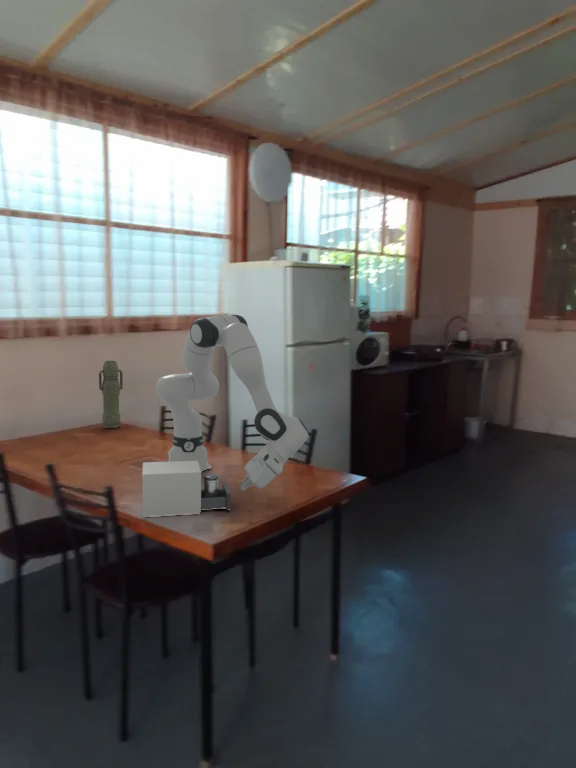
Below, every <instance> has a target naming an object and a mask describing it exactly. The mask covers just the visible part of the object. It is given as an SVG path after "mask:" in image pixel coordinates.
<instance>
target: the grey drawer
mask: <svg viewBox="0 0 576 768" xmlns="http://www.w3.org/2000/svg"><path fill="white" fill-rule="evenodd" d="M221 483H222V484H221V487H222V488H218V497H217V498H204V489H201V510H202V509H212V508H222V507H226V509H230V510H231V491H230V488H229V486H228V484H227V481H225V480H224V481H221Z"/></svg>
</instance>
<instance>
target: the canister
mask: <svg viewBox="0 0 576 768" xmlns="http://www.w3.org/2000/svg"><path fill="white" fill-rule="evenodd" d="M218 489H219V475H218V474H217V473H208V474H207V473H206V474H204V475H203V490H204V498H217V497H218Z"/></svg>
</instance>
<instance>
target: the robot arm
mask: <svg viewBox="0 0 576 768" xmlns="http://www.w3.org/2000/svg"><path fill="white" fill-rule="evenodd" d="M216 347H219V348H220V347H223V348H224V350H225V352H226V356H227V358H228V361H229V364H230V366H231V368H232V370H233V372H234V373H235V375H236V377H237V378H238V379H239V380H240V381H241V382H242V384H243V385H244V386H245V388H246V389H247V390H248V392H249V394H250V396H251V399H252V401H253V404H254V407H255V410H256V412H257V413H256V415H255V417H254V420H253V421H254V422H253V423H254V424H253V425H254V428H255V430H256V432H258V434H259V435H260V436H261V437H262V438H263V439H264V440H266V441H268V442H267V443H266V444H265V445H264V446H263V447H262V448H261V450H259V452H258V453H257V454H256V455H255V456H253V457H252V458H251V459H250V460H249V461H248V462H247V463H246V464H245V465H244V467H243V469H244V471H245V472H246V475H245V477H244V479H243V480H242V482H241V483H240V484H239V488H240V490H241V491H242V492H245V491H246V490H247V489H249V488H250V487H251V486H254V487H255V488H257V489H258V490H262V489H263V488H266V486H267V485H268V484H270V482H271V481H273V479H274V478H276V476H279V475H280V474H281V473H283V468H284V465H285V464H286V463H287V461H288V460H289V458H290V457H291V456H292V455H294V454H295V453H297V452H298V451H299V450H300V448H301V447H302V446H303V445H304V443H305V442H307V439H308V438H309V431H308V429H307V427H306V426H305V424H304V422H303V421H302V420H301V419H300V418H299V417H295V416H290V415H287V414H283V412H280V411H278V410H277V408H276V406H275V405H274V403H273V402H274V401H273V399H272V397H271V395H270V392H269V390H268V386H267V383H266V377H265V369H264V364H263V359H262V355H261V352H260V349H259V347H258V344H257V342H256V339H255V337H254V335H253V334H252V331H251V330H250V329H249V326H248V322H247V320H246V319H245V318H244V317H243V316H242V315H239V314H225V315H224V314H220V315H219V314H218V315H213V316H209V317H200V318H198V319H197V318H196V319H195V320H194V321H193V322H192V323H191V326H190V328H189V331H188V333H187V337H186V339H185V342H184V347H183V349H182V354H181V363H182V366H183V367H184V368H185V369H186V370H188V371H189V372H187V373H173V374H168V375H164V376H161V377H159V378H158V380H157V382H156V386H155V391H156V395H157V397H158V398H159V400H160V401H161V402H163V403H165V404H166V405H167V407H168V408H169V410H170V412H171V416H172V419H173V435H172V447H171V448H170V449H169V451H168V452H167V457H168V460H167V462H174V461H198V463H199V467H200V470H201V473H203V472H202V471H204V470H206V469H210V468H212V465H210V463H208V450H207V448H206V447H205V446H204V445H203V444H204V435H203V417H202V415H201V413H199V412H198V411H196V410H195V409H192V408H191V405H190V402H194V401H206V400H209V399H211V398H215V397H216V396H217V394H218V393H219V389H220V384H219V383H220V382H219V380H218V378H217V376H216V375H214V374H213V373H212V371H211V361H212V358H213V354H214V351H215V348H216ZM210 470H211V469H210ZM206 471H207V470H206ZM204 472H205V471H204Z"/></svg>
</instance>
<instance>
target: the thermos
mask: <svg viewBox="0 0 576 768" xmlns="http://www.w3.org/2000/svg"><path fill="white" fill-rule="evenodd" d="M123 374H124V373H123V371H122V370H121V369H119V366H118V362H117V361H116V360H106V361H104V363H103V366H102V370H100V371H99V373H98V389H99V390H100V391H101V394H102V396H103V398H102V400H103V401H102V402H103V403H102V405H103V406H102V407H103V408H102V409H103V413H102V428H103V429H104V428H117V429H119V428H118V427H120V428H121V424H120V423H121V414H120V395H121V394H120V393H121V390H123V388H124V387H123V386H124V383H123V379H124V378H123V377H124V375H123ZM102 377H103V381H102Z"/></svg>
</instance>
